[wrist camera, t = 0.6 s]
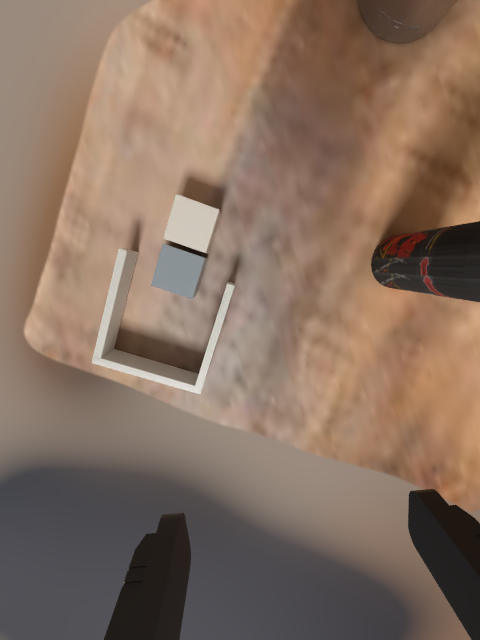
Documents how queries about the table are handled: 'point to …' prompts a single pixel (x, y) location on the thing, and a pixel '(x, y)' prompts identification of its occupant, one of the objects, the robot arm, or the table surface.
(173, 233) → the tile white
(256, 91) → the table surface
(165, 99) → the table surface
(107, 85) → the table surface
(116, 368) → the tray
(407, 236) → the deodorant
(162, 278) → the grey-blue square block
